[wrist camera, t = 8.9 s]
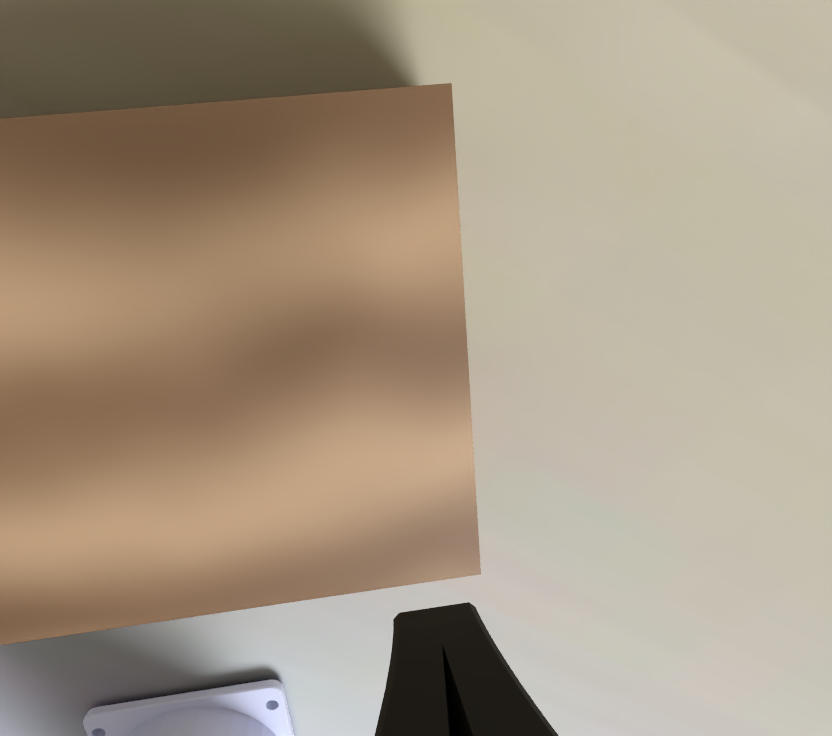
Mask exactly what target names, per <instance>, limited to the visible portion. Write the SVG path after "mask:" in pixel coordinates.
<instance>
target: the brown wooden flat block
mask: <svg viewBox="0 0 832 736" xmlns="http://www.w3.org/2000/svg"><path fill="white" fill-rule="evenodd" d="M478 574H481V570H480V553H479V536H478V519H477V503H476V486H475V469H474V452H473V436H472V419H471V402H470V386H469V369H468V352H467V335H466V319H465V302H464V285H463V269H462V252H461V235H460V218H459V202H458V185H457V168H456V151H455V135H454V118H453V101H452V85H451V83H448V84H435V85H422V86H410V87H397V88H384V89H371V90H358V91H346V92H333V93H320V94H307V95H295V96H282V97H269V98H256V99H243V100H231V101H218V102H205V103H192V104H180V105H167V106H154V107H141V108H128V109H116V110H103V111H90V112H77V113H65V114H52V115H39V116H26V117H13V118H1V119H0V645H4V644H11V643H18V642H25V641H32V640H38V639H45V638H52V637H59V636H65V635H72V634H79V633H86V632H92V631H99V630H106V629H113V628H120V627H126V626H133V625H140V624H147V623H153V622H160V621H167V620H174V619H180V618H187V617H194V616H201V615H207V614H214V613H221V612H228V611H235V610H241V609H248V608H255V607H262V606H268V605H275V604H282V603H289V602H295V601H302V600H309V599H316V598H323V597H329V596H336V595H343V594H350V593H356V592H363V591H370V590H377V589H383V588H390V587H397V586H404V585H411V584H417V583H424V582H431V581H438V580H444V579H451V578H458V577H465V576H471V575H478Z"/></svg>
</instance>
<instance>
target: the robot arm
mask: <svg viewBox="0 0 832 736" xmlns="http://www.w3.org/2000/svg"><path fill="white" fill-rule="evenodd" d="M271 700H275V701H271ZM83 726H84V728H85V731H86V733H87V736H294V732H293V727H292V723H291V718H290V714H289V709H288V705H287V700H286V696H285V691H284V687H283V685H282V683H280V682H279V681H277V680H264V681H258V682H252V683H245V684H239V685H233V686H226V687H220V688H214V689H207V690H201V691H195V692H188V693H182V694H176V695H169V696H163V697H157V698H150V699H144V700H138V701H131V702H125V703H119V704H112V705H106V706H100V707H95V708H92V709H90V710H89V711H88V712H87V714H86V716H85V718H84V720H83ZM375 736H558V734H557V733H556V732H555V730H554V729H553V728H552V726H551V725H550V724H549V723H548V721H547V720H546V718H545V717H544V716H543V714H542V713H541V711H540V710H539V709H538V707H537V706H536V704H535V703H534V702H533V700H532V699H531V697H530V696H529V695H528V693H527V692H526V690H525V689H524V688H523V686H522V685H521V683H520V682H519V680H518V679H517V677H516V676H515V674H514V673H513V671H512V670H511V668H510V667H509V665H508V664H507V662H506V660H505V659H504V657H503V656H502V654H501V653H500V651H499V649H498V648H497V646H496V644H495V643H494V641H493V639H492V638H491V636H490V634H489V633H488V631H487V629H486V627H485V625H484V623H483V622H482V620H481V618H480V616H479V614H478V612H477V610H476V607H475V606H473V605H472V604H470V603H469V602H468V603H462V604H455V605H449V606H442V607H435V608H429V609H422V610H415V611H409V612H402V613H399V614H398V615H397V616H396V617H395V618H394V632H393V644H392V653H391V660H390V667H389V672H388V678H387V683H386V689H385V693H384V698H383V702H382V706H381V711H380V715H379V720H378V724H377V728H376V733H375Z"/></svg>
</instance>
